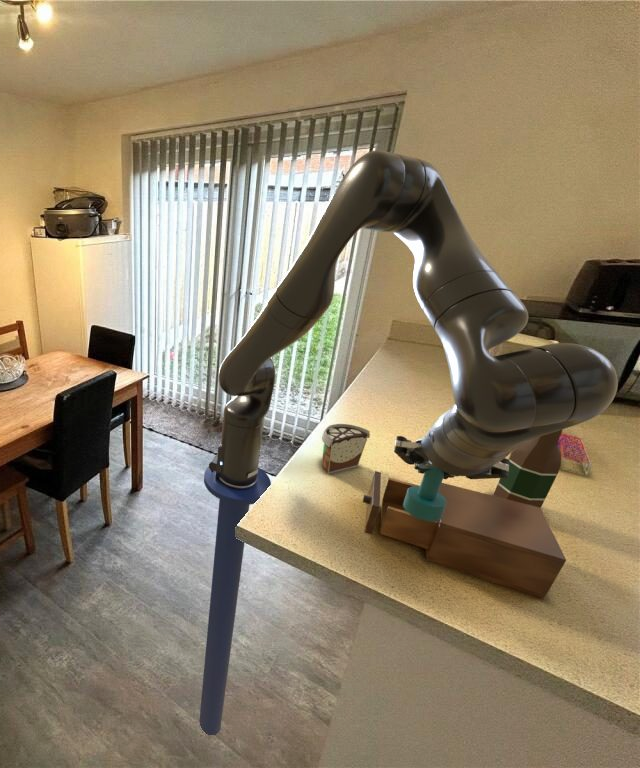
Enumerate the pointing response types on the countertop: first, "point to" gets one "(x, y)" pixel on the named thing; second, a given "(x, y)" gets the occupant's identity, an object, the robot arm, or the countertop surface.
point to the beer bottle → (532, 470)
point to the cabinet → (496, 541)
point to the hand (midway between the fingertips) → (432, 470)
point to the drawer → (396, 514)
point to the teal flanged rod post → (426, 497)
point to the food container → (343, 446)
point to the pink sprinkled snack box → (562, 442)
